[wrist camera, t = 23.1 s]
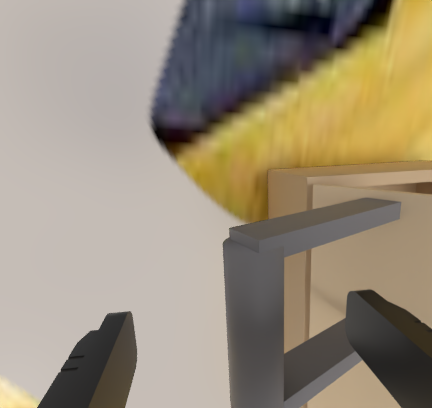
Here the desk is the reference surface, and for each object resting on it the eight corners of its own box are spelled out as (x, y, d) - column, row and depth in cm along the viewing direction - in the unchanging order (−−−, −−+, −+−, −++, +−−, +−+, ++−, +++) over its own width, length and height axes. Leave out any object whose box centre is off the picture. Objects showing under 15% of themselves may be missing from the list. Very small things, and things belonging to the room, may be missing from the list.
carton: (267, 169, 24) (307, 177, 16) (421, 160, 25) (533, 163, 17) (269, 339, 28) (302, 418, 19) (403, 324, 29) (488, 393, 21)
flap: (317, 183, 15) (178, 205, 11) (488, 199, 9) (322, 264, 5) (310, 418, 19) (203, 505, 15) (430, 546, 13) (304, 770, 8)
